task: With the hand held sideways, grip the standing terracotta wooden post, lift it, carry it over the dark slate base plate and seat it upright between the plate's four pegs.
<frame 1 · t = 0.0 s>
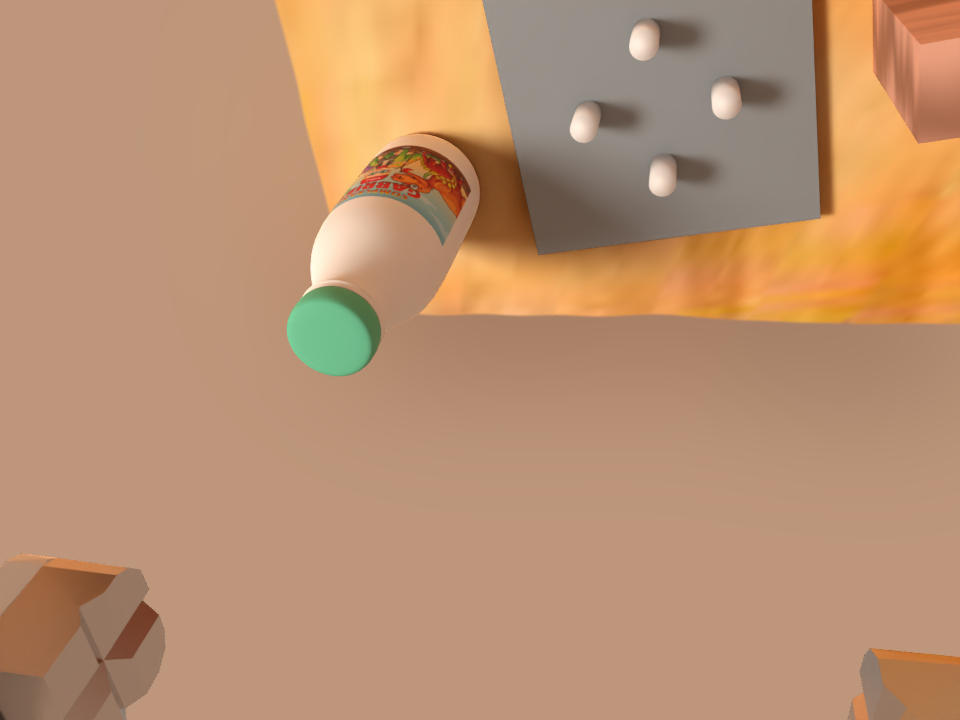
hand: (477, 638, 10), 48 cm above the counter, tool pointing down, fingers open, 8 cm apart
milk bottle: (427, 184, 60), on the counter
terracotta post: (916, 23, 48), on the counter
peg plate: (655, 96, 53), on the counter
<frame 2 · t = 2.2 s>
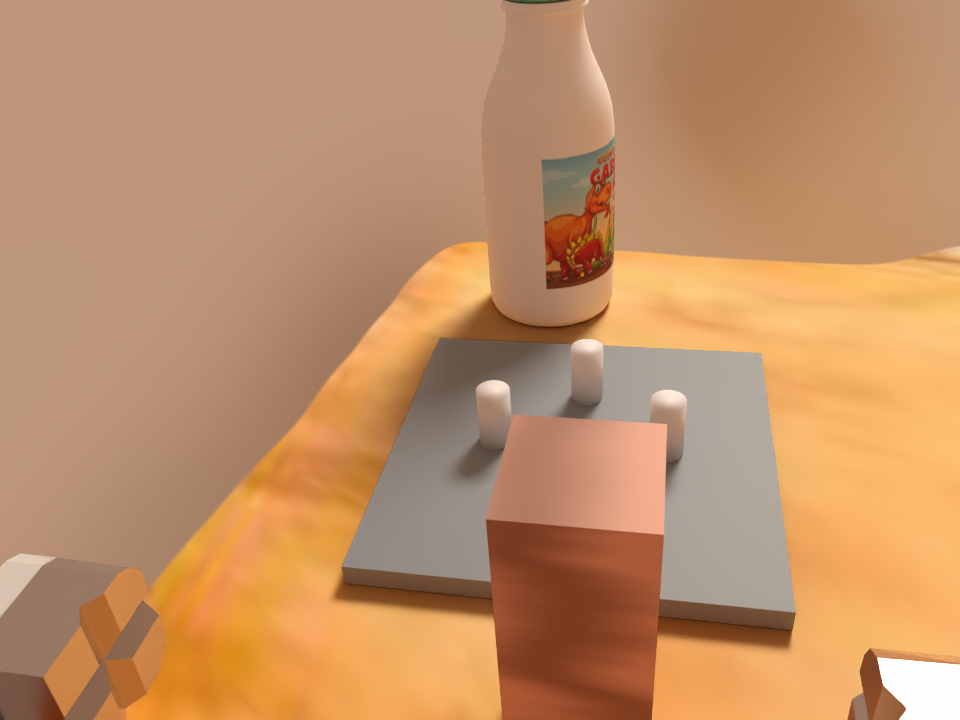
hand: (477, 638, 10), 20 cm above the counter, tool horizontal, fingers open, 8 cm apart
milk bottle: (551, 302, 56), on the counter
peg plate: (579, 461, 43), on the counter
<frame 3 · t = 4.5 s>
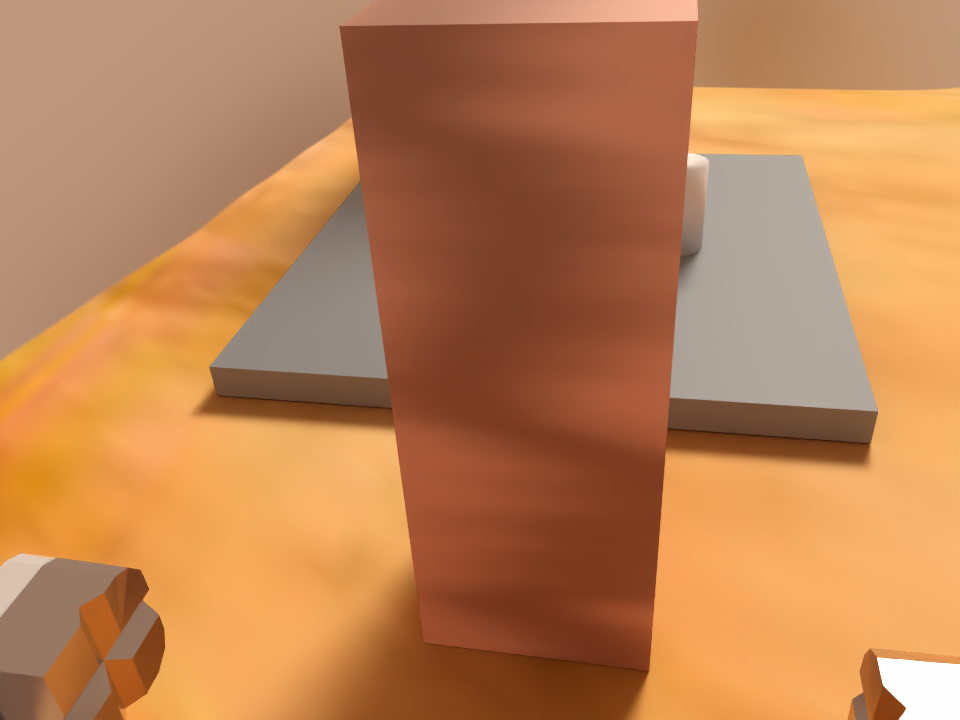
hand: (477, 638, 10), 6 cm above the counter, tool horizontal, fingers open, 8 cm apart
terracotta post: (548, 572, 19), on the counter
peg plate: (559, 267, 31), on the counter
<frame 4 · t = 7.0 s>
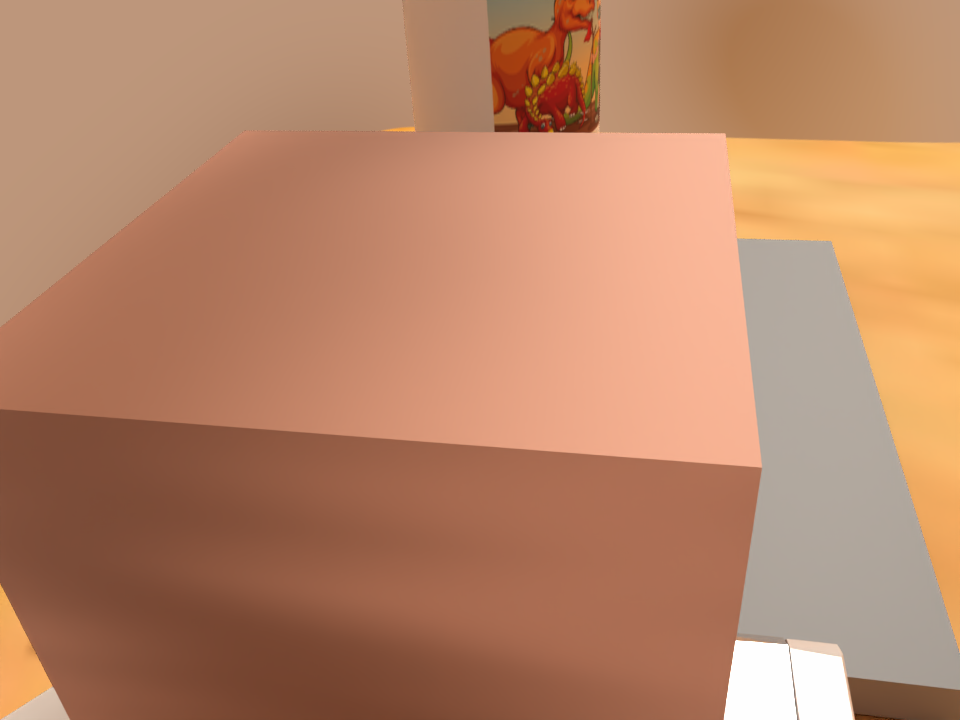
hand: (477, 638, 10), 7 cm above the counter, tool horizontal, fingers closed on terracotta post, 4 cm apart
milk bottle: (509, 191, 39), on the counter
peg plate: (533, 402, 25), on the counter
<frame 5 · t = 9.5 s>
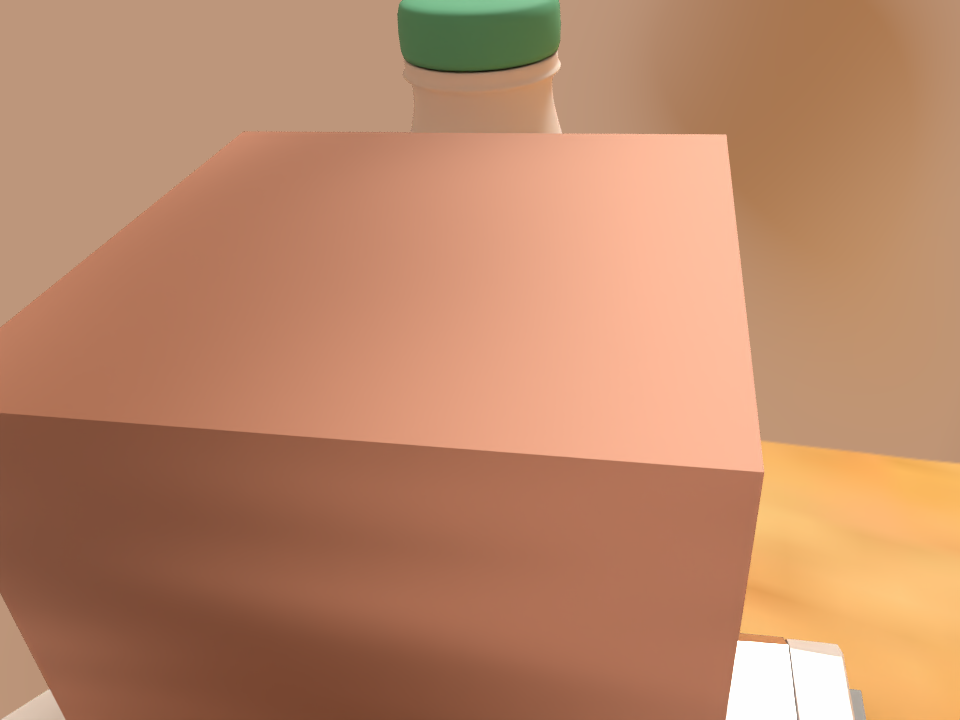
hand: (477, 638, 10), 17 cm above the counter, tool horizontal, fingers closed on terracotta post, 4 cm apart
milk bottle: (506, 523, 35), on the counter
when the fingers open (9 cm above the counter, at t = 12.2 s): terracotta post drops 1 cm, resting on peg plate.
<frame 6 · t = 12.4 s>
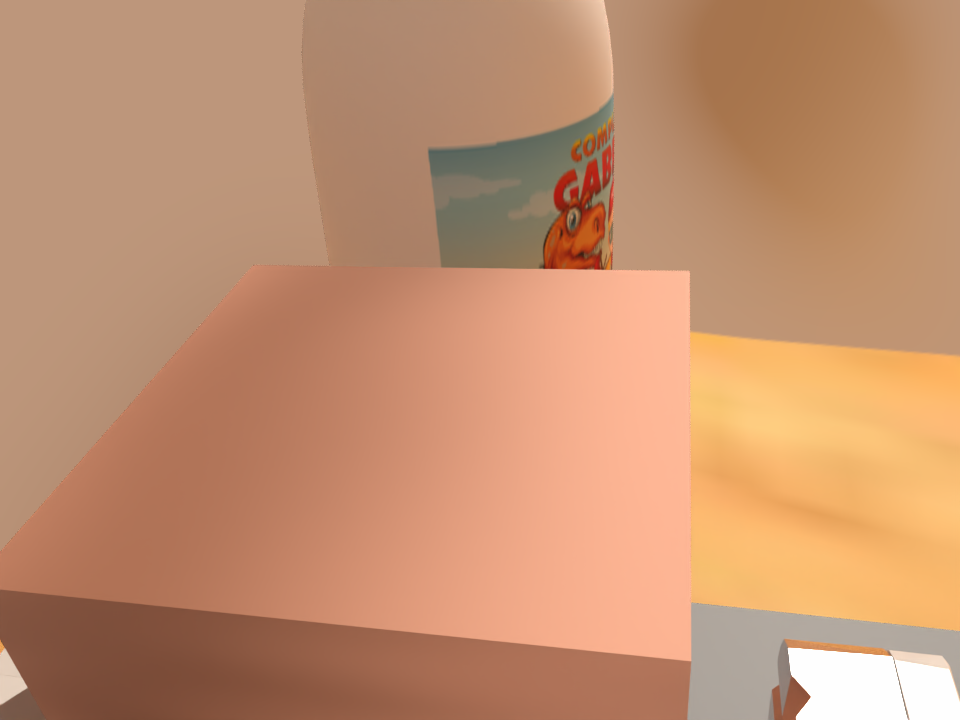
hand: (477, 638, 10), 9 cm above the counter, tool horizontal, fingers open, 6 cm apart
milk bottle: (484, 441, 28), on the counter
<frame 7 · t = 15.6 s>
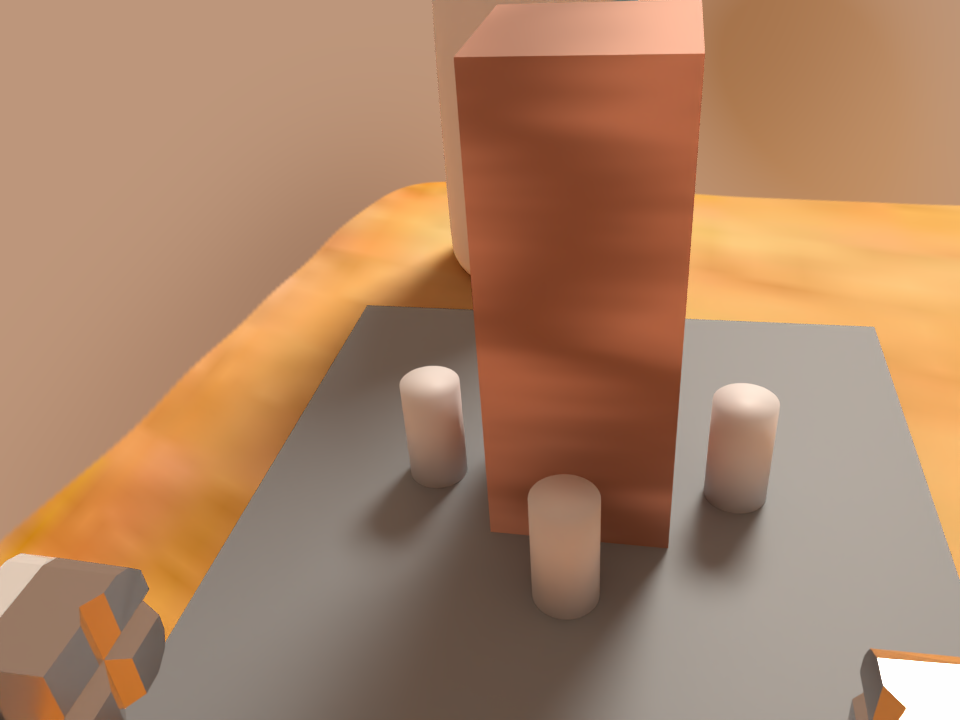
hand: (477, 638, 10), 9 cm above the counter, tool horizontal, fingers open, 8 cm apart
milk bottle: (541, 257, 38), on the counter
terracotta post: (586, 481, 24), point 1 cm above the counter, touching peg plate
peg plate: (582, 507, 25), on the counter
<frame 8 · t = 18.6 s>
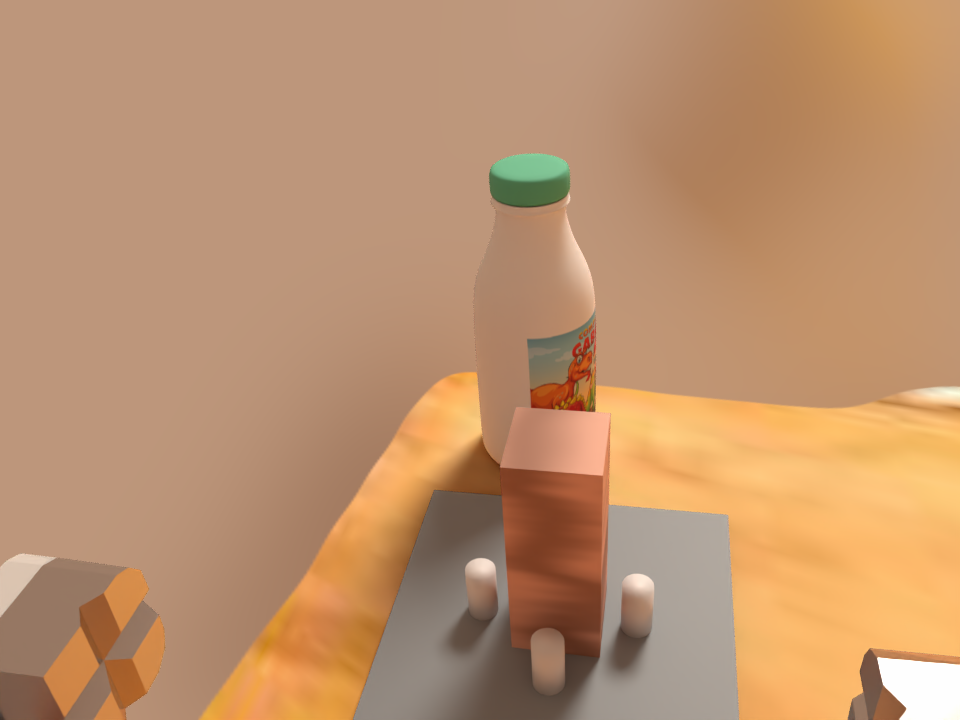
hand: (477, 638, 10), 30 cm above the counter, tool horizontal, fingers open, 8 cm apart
milk bottle: (538, 444, 61), on the counter
terracotta post: (560, 617, 46), point 1 cm above the counter, touching peg plate
peg plate: (558, 629, 47), on the counter
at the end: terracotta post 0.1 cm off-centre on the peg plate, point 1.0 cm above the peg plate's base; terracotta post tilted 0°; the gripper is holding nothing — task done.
